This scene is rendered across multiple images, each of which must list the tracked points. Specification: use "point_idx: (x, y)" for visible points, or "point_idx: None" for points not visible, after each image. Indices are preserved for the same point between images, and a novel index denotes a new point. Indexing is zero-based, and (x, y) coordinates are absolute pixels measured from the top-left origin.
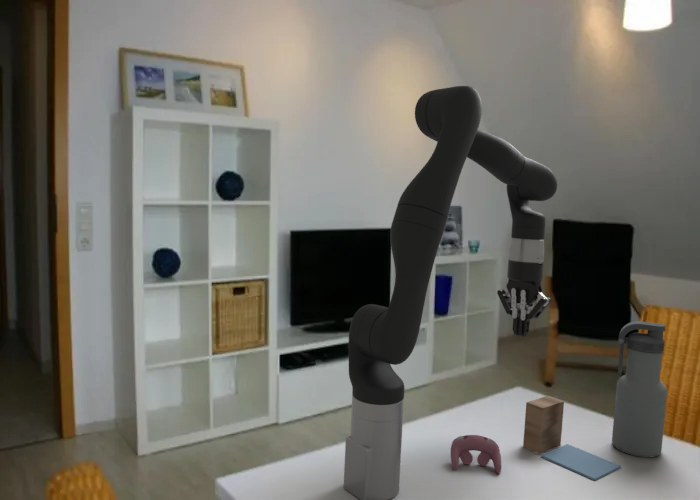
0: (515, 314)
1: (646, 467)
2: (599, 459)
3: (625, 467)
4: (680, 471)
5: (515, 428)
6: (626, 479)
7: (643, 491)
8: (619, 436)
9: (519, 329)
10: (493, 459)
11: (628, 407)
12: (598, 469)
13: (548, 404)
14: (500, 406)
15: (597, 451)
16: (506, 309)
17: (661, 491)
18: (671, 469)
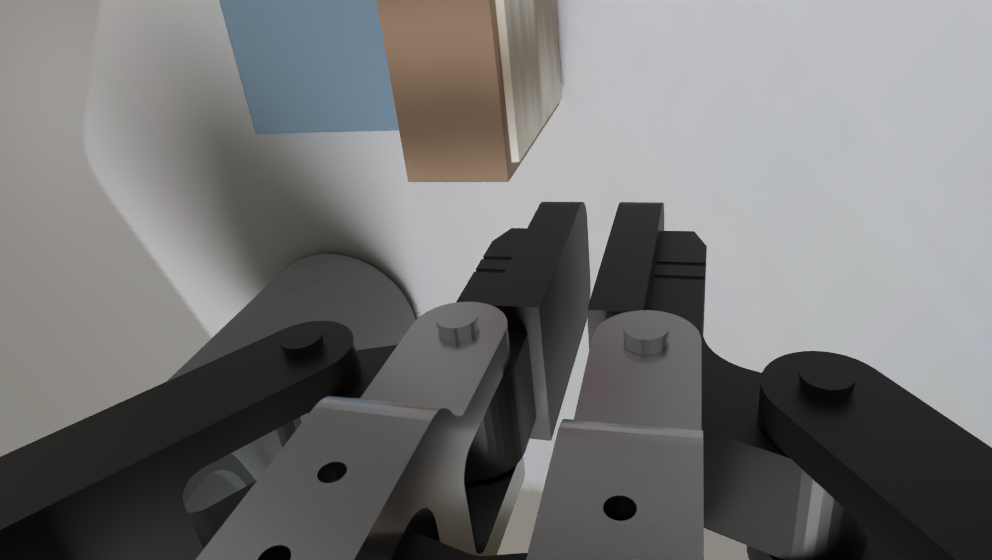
0: (621, 356)
1: (239, 209)
2: (315, 111)
3: (257, 148)
4: (194, 269)
5: (715, 81)
6: (190, 61)
7: (115, 29)
8: (333, 279)
9: (559, 232)
10: None
11: (239, 346)
12: (254, 24)
13: (404, 53)
14: (957, 260)
15: (382, 184)
16: (885, 416)
17: (107, 84)
18: (210, 261)
